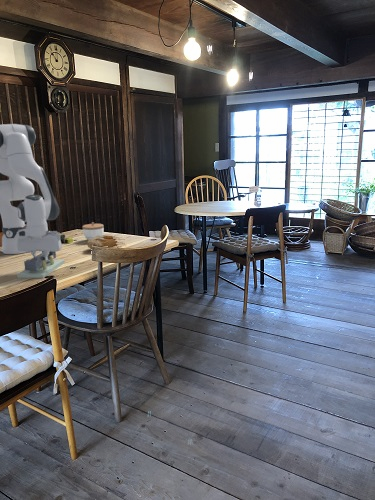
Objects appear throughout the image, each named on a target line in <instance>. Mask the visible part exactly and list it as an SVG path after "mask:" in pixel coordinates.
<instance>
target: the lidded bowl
mask: <svg viewBox="0 0 375 500" xmlns="http://www.w3.org/2000/svg"><path fill="white" fill-rule="evenodd" d="M81 229H82V233H83V236H84V238H85V239H86V240H87V242H88V241H89V240H90V239H91V238H94V237H96V236H99V235H104V233H105V232H104V229H105V228H104V224H102V223H95V222H91V223H89V224H83V225H82V227H81Z"/></svg>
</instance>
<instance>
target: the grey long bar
mask: <svg viewBox="0 0 375 500" xmlns="http://www.w3.org/2000/svg"><path fill="white" fill-rule="evenodd" d="M56 252H57V251H49V254H48V256H47V257H48V260H47V261H46V262H48V261H49V260H50V256H53V260H56V258H57V253H56ZM36 255H37V256H36V257H33V258H31V259H26V260H25V261H23V264H24V270H36V271H37V270H38V269H40V266H42V261H43V257H44V256H45V255H46V254H45V252H44V251H41V252H40V253H39V254H36Z"/></svg>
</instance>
